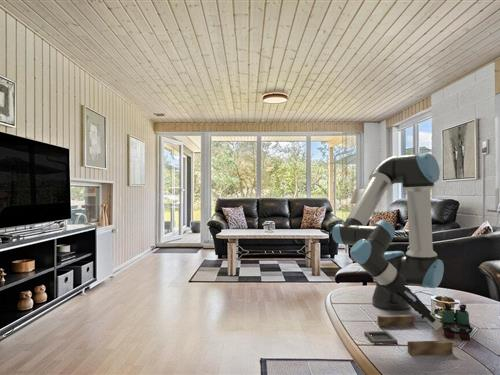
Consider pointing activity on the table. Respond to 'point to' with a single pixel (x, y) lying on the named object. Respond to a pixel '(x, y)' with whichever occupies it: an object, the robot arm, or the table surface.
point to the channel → (416, 346)
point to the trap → (380, 337)
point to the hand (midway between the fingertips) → (438, 326)
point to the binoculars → (456, 322)
